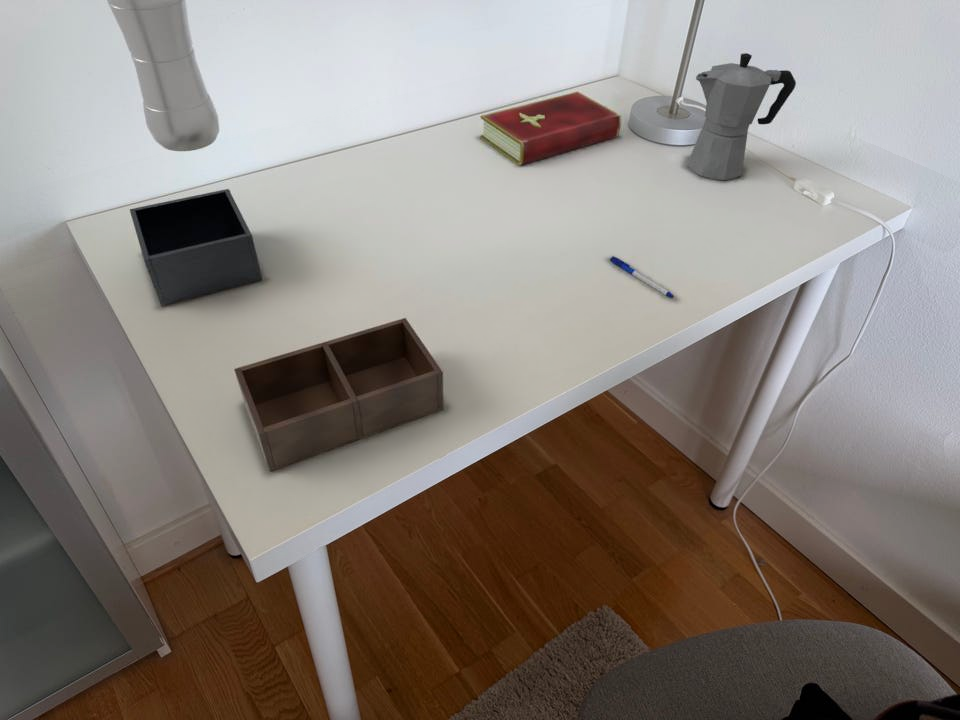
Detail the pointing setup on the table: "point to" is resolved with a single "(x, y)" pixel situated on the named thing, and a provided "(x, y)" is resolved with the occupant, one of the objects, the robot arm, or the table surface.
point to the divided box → (339, 391)
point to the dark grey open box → (196, 246)
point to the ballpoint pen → (639, 276)
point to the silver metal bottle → (167, 73)
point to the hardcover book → (549, 127)
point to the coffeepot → (733, 115)
